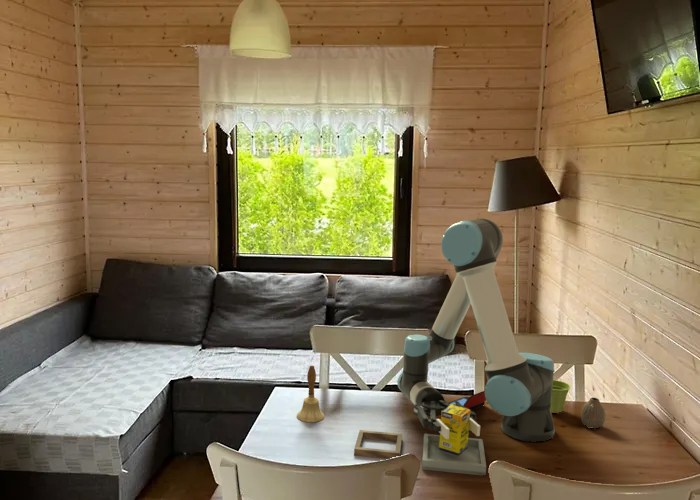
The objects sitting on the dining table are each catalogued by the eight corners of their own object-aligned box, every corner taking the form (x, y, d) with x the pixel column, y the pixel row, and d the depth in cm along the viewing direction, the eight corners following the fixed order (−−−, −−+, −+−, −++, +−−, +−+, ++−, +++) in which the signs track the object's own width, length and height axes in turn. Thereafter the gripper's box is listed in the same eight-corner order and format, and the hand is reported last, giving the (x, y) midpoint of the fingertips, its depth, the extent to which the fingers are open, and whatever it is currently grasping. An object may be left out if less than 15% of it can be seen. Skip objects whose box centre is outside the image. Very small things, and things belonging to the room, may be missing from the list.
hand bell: (325, 422, 196) (327, 370, 194) (297, 422, 195) (299, 370, 193) (322, 411, 204) (324, 361, 202) (295, 411, 203) (297, 361, 201)
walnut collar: (402, 440, 186) (402, 433, 186) (399, 459, 175) (399, 453, 174) (359, 435, 188) (359, 429, 188) (354, 455, 176) (354, 448, 176)
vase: (606, 432, 197) (609, 404, 195) (581, 429, 198) (584, 401, 197) (602, 423, 203) (604, 396, 202) (578, 420, 205) (581, 393, 203)
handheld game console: (466, 399, 219) (467, 377, 218) (493, 409, 211) (495, 387, 210) (441, 408, 211) (442, 385, 210) (468, 419, 203) (470, 396, 202)
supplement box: (459, 456, 172) (462, 416, 171) (438, 450, 175) (440, 410, 174) (468, 448, 177) (471, 409, 176) (447, 442, 180) (450, 403, 179)
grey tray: (481, 447, 184) (482, 439, 183) (485, 475, 168) (486, 466, 167) (423, 442, 186) (424, 433, 185) (421, 469, 170) (422, 460, 170)
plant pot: (535, 413, 209) (537, 386, 208) (539, 402, 218) (541, 377, 217) (566, 418, 206) (569, 392, 204) (569, 408, 214) (571, 382, 213)
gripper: (459, 408, 196) (498, 442, 175) (392, 414, 190) (425, 450, 168) (461, 384, 195) (500, 415, 173) (394, 389, 188) (426, 422, 167)
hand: (463, 432), depth 171 cm, fingers closed on supplement box, 8 cm apart
